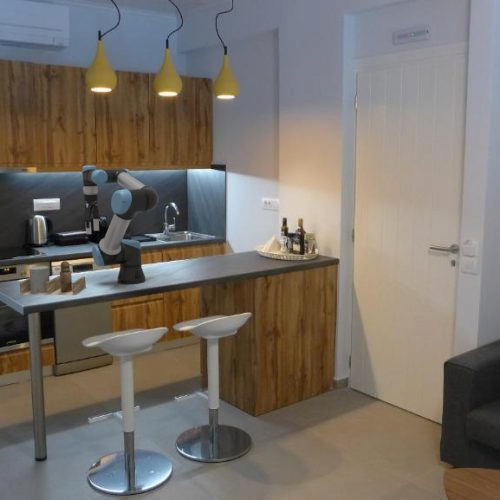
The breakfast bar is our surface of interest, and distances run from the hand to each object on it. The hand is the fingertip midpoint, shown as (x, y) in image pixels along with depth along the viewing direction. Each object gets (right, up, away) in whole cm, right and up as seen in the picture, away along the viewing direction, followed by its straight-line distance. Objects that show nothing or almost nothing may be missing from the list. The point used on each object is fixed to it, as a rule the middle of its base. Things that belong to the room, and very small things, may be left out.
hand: (92, 232), depth 344 cm
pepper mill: (-6, -31, -28) cm, 42 cm away
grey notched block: (-20, -31, -28) cm, 46 cm away
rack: (-13, -32, -27) cm, 44 cm away
